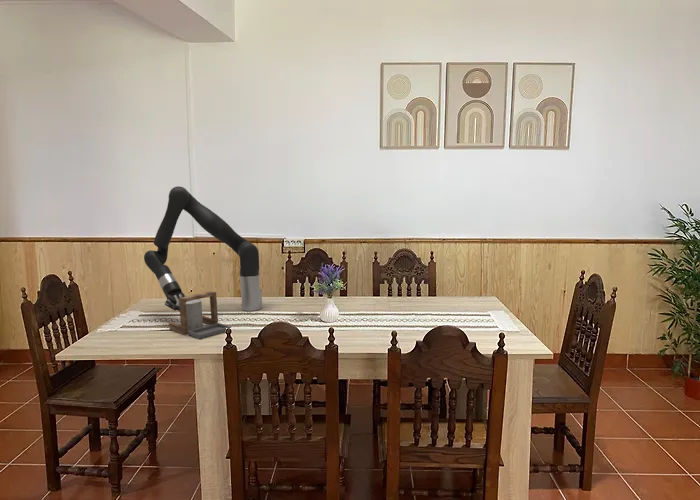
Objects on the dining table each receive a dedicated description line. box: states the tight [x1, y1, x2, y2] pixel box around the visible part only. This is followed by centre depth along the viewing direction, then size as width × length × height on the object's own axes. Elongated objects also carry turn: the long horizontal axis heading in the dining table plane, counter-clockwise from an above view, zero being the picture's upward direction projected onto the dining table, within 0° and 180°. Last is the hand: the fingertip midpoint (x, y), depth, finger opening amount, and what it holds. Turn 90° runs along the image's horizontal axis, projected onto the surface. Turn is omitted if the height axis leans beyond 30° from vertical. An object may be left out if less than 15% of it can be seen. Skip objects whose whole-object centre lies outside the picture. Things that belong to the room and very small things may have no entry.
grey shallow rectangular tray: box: [187, 322, 232, 340], centre depth 273 cm, size 16×9×2 cm, turn 136°
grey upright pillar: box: [186, 299, 204, 331], centre depth 281 cm, size 10×10×12 cm
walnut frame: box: [168, 290, 219, 336], centre depth 280 cm, size 17×13×16 cm
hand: (185, 315), depth 285 cm, fingers closed
